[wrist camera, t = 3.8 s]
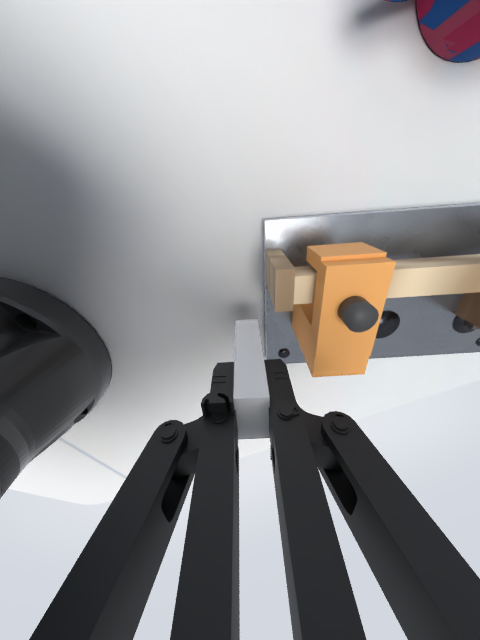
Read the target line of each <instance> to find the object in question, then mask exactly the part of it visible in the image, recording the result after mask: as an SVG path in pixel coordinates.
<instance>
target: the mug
mask: <svg viewBox="0 0 480 640" xmlns="http://www.w3.org/2000/svg"><path fill="white" fill-rule="evenodd" d="M385 1H390V2H402V1H407V0H385ZM417 14H418V20H419V25H420V28H421V31H422V34H423V37H424V39H425V40H426V42H427V44H428V45H429V47H430V48H431V49H432V50H433V51H434V52H435V53H436V54H437V55H438V56H440V57H442V58H444V59H446V60H449V61H454V62H467V61H472V60H475V59H479V58H480V0H417Z"/></svg>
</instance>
